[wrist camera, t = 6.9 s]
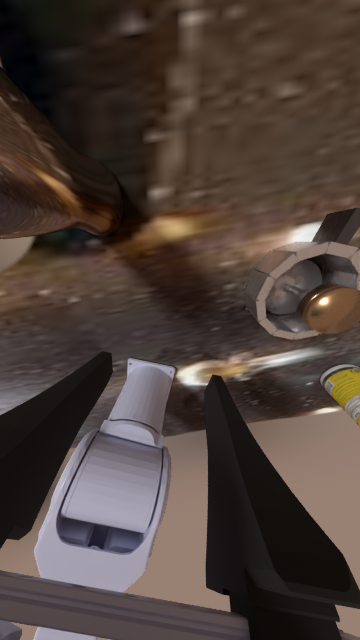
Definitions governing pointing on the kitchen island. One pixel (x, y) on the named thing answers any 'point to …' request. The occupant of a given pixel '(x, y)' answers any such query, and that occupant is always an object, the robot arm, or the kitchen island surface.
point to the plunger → (314, 299)
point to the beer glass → (48, 176)
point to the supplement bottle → (344, 388)
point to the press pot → (326, 247)
